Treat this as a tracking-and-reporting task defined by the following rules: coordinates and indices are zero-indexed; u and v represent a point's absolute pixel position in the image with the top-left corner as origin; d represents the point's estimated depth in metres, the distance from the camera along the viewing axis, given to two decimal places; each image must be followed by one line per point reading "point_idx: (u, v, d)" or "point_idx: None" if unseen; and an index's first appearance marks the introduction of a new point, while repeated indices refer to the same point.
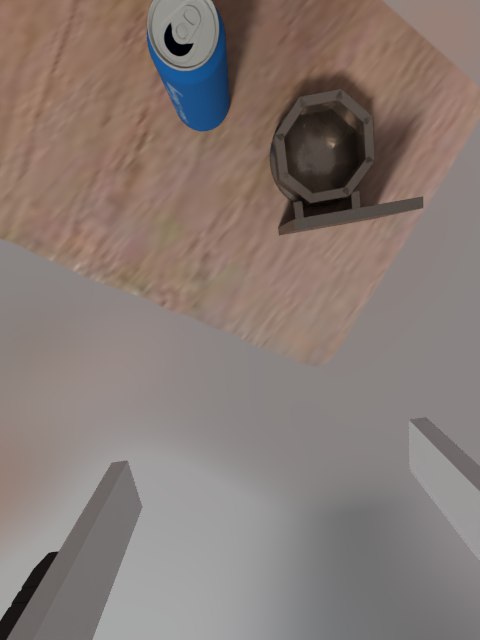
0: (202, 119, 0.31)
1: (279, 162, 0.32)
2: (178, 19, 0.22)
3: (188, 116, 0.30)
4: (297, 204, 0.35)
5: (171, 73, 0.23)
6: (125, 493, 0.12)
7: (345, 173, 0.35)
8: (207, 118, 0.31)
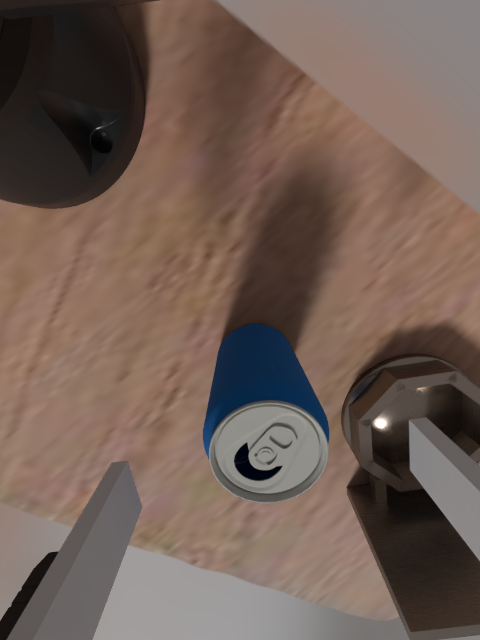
0: None
1: (362, 450, 0.24)
2: (259, 441, 0.13)
3: None
4: (379, 482, 0.26)
5: None
6: (125, 493, 0.12)
7: None
8: None
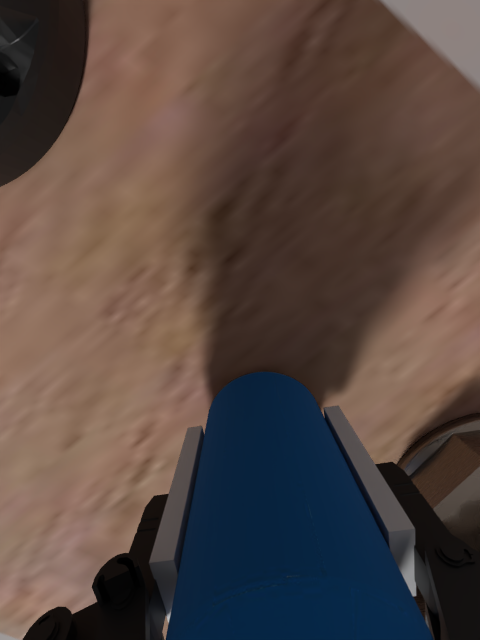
0: None
1: None
2: None
3: None
4: None
5: None
6: None
7: None
8: None
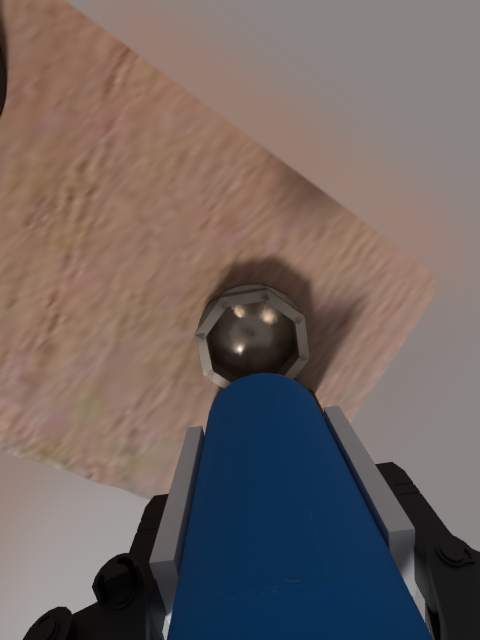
0: None
1: (202, 360, 0.29)
2: None
3: None
4: None
5: None
6: None
7: (281, 358, 0.31)
8: None
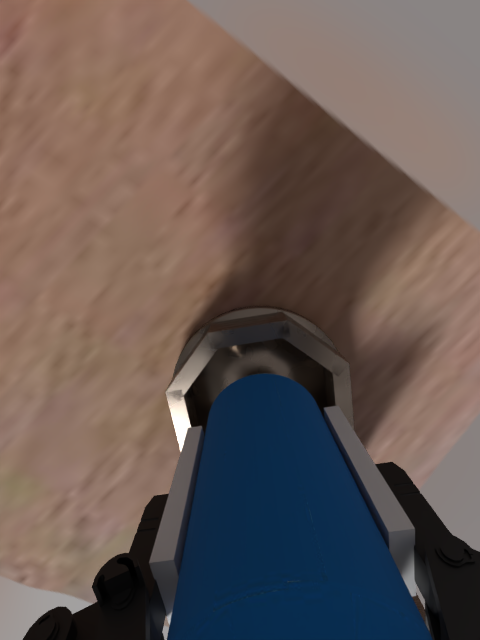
0: None
1: (178, 432, 0.18)
2: None
3: None
4: None
5: None
6: None
7: None
8: None
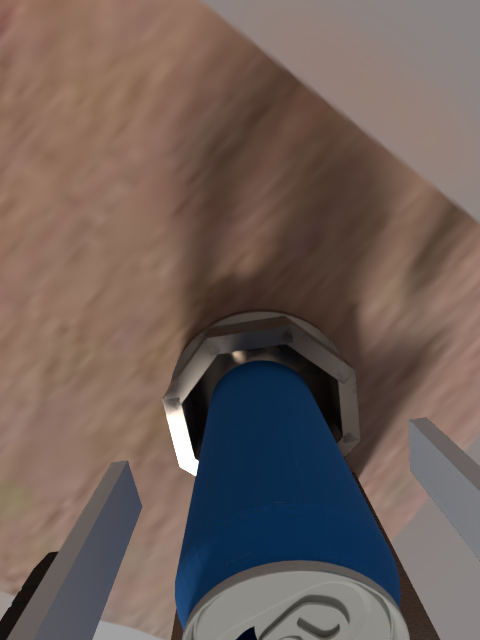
0: None
1: (176, 442, 0.17)
2: (277, 626, 0.07)
3: None
4: None
5: None
6: (125, 493, 0.12)
7: None
8: None
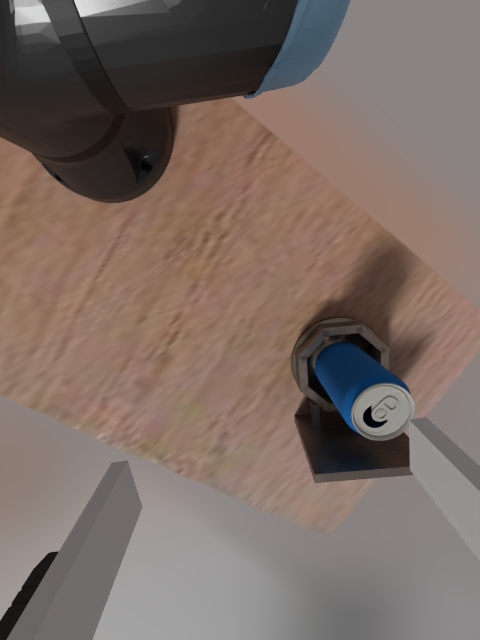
0: None
1: (301, 378, 0.35)
2: (378, 404, 0.25)
3: None
4: (314, 407, 0.37)
5: None
6: (125, 493, 0.12)
7: None
8: None
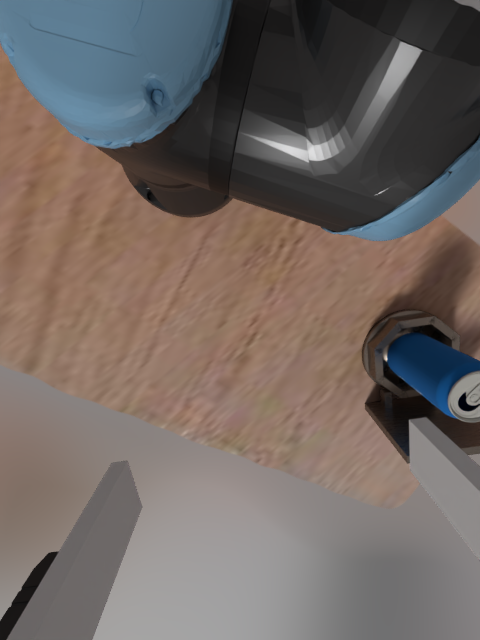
0: None
1: (376, 369, 0.38)
2: (473, 390, 0.28)
3: None
4: (387, 394, 0.40)
5: (454, 416, 0.29)
6: (125, 493, 0.12)
7: None
8: None
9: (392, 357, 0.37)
